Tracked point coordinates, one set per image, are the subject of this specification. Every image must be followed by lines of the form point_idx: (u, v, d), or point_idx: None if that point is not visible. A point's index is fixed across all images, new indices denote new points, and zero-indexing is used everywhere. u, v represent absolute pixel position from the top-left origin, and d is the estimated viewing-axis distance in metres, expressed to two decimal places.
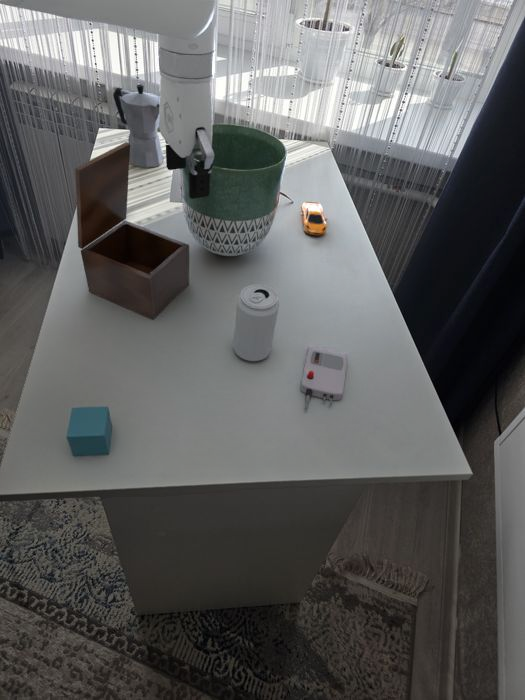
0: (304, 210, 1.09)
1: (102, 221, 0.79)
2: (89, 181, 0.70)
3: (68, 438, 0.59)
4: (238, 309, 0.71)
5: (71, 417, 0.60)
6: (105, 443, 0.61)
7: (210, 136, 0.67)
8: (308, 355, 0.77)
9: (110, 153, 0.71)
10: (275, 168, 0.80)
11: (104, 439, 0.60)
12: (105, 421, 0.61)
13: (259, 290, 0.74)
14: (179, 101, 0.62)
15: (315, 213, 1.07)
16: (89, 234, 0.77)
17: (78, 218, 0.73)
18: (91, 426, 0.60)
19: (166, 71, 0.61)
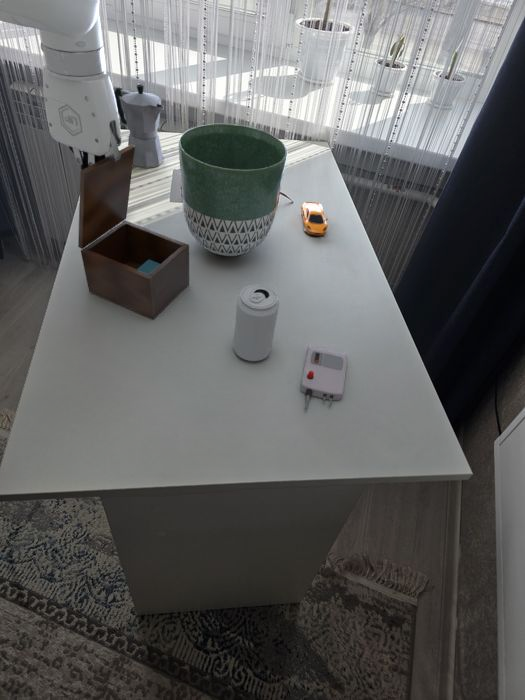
0: (305, 210, 1.09)
1: (103, 222, 0.79)
2: (93, 184, 0.70)
3: None
4: (238, 309, 0.71)
5: None
6: None
7: (120, 128, 0.68)
8: (308, 355, 0.77)
9: None
10: (275, 168, 0.80)
11: None
12: (159, 264, 0.83)
13: (259, 290, 0.74)
14: (89, 100, 0.63)
15: (316, 213, 1.07)
16: (90, 234, 0.77)
17: (80, 219, 0.73)
18: None
19: (67, 73, 0.60)
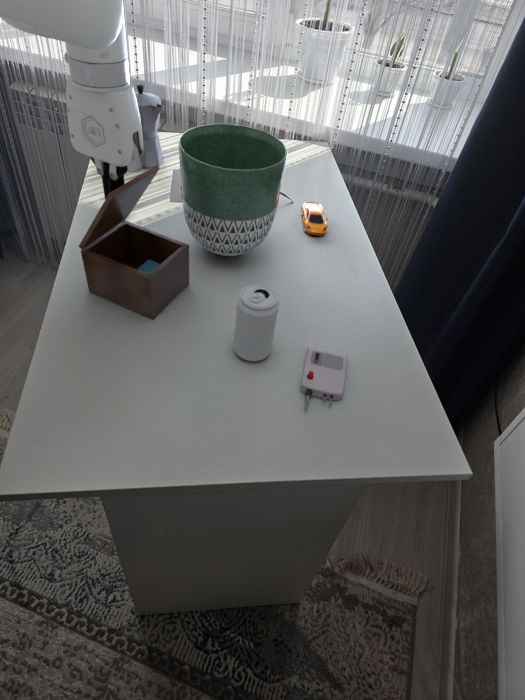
0: (305, 210, 1.09)
1: (108, 226, 0.79)
2: (115, 202, 0.70)
3: None
4: (238, 309, 0.71)
5: None
6: None
7: (142, 139, 0.68)
8: (308, 355, 0.77)
9: (141, 178, 0.72)
10: (275, 168, 0.80)
11: None
12: (159, 264, 0.83)
13: (259, 290, 0.74)
14: (113, 111, 0.62)
15: (316, 213, 1.07)
16: (93, 238, 0.78)
17: (91, 228, 0.73)
18: None
19: (92, 84, 0.60)
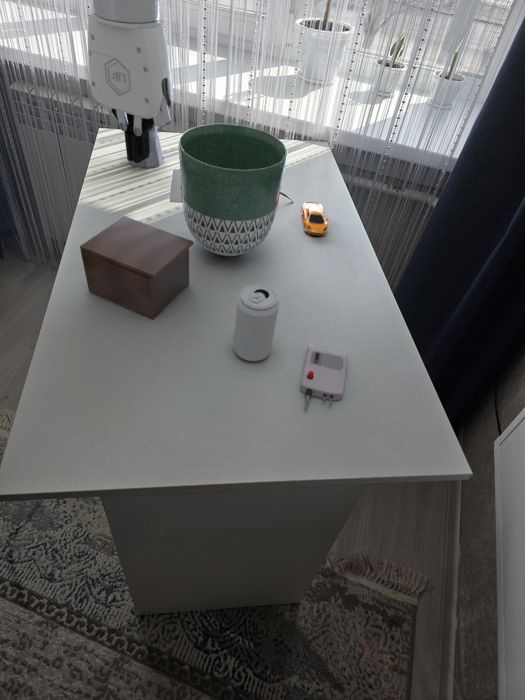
0: (305, 210, 1.09)
1: None
2: None
3: None
4: (238, 309, 0.71)
5: None
6: None
7: (171, 88, 0.61)
8: (308, 355, 0.77)
9: (178, 257, 0.79)
10: (275, 168, 0.80)
11: None
12: None
13: (259, 290, 0.74)
14: (141, 51, 0.55)
15: (316, 213, 1.07)
16: None
17: (109, 259, 0.76)
18: None
19: (118, 18, 0.53)
